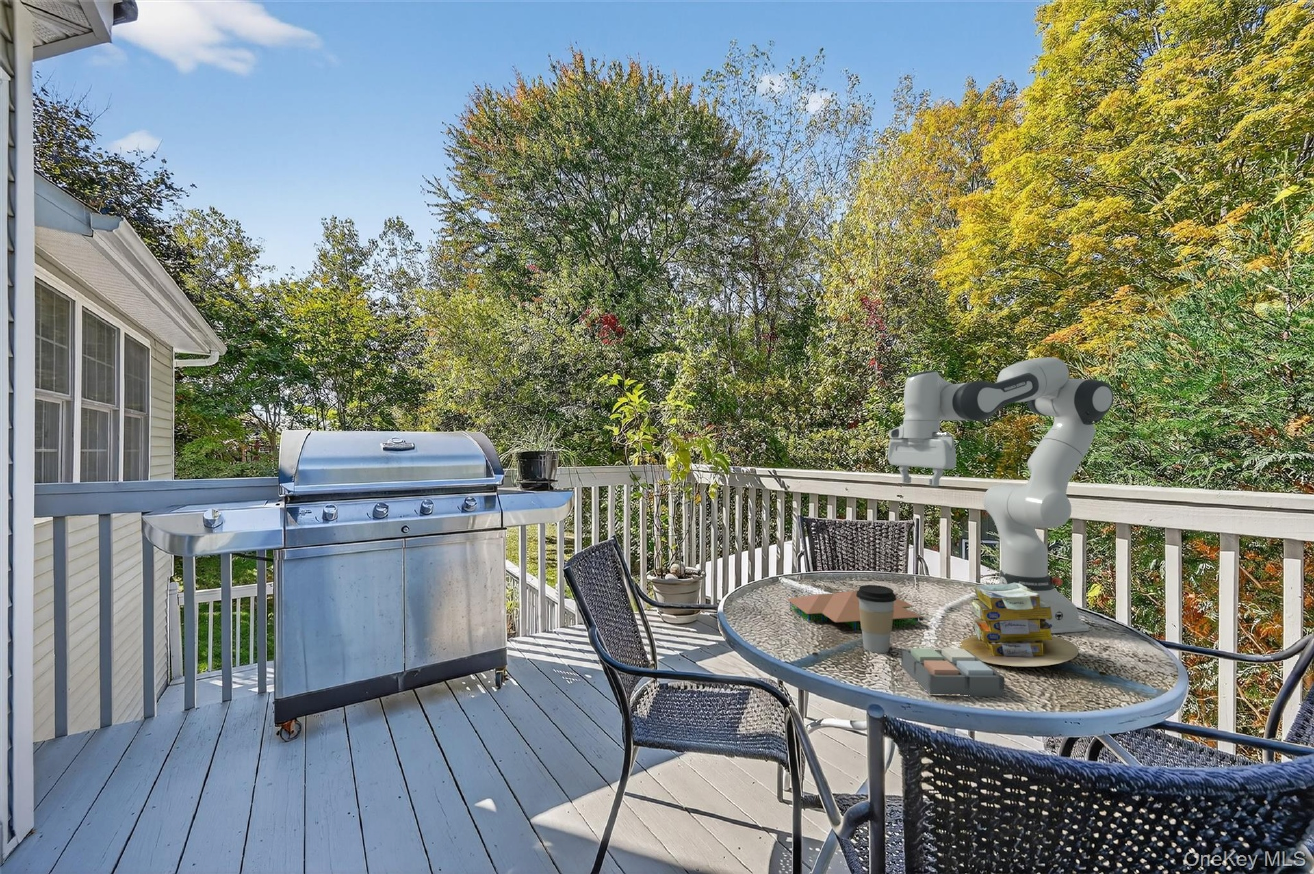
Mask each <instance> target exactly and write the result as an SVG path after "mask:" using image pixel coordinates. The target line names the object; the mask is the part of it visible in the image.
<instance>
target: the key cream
mask: <svg viewBox="0 0 1314 874" xmlns="http://www.w3.org/2000/svg"><path fill="white" fill-rule="evenodd" d="M941 650H942V655H943V656H945V657H946V658H947V659H948V660H950V661H951V662H957V661H975V657H974V656H973V655H971V654H970V653H969V652H967V651H966V650H965V649H960V648H941Z"/></svg>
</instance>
